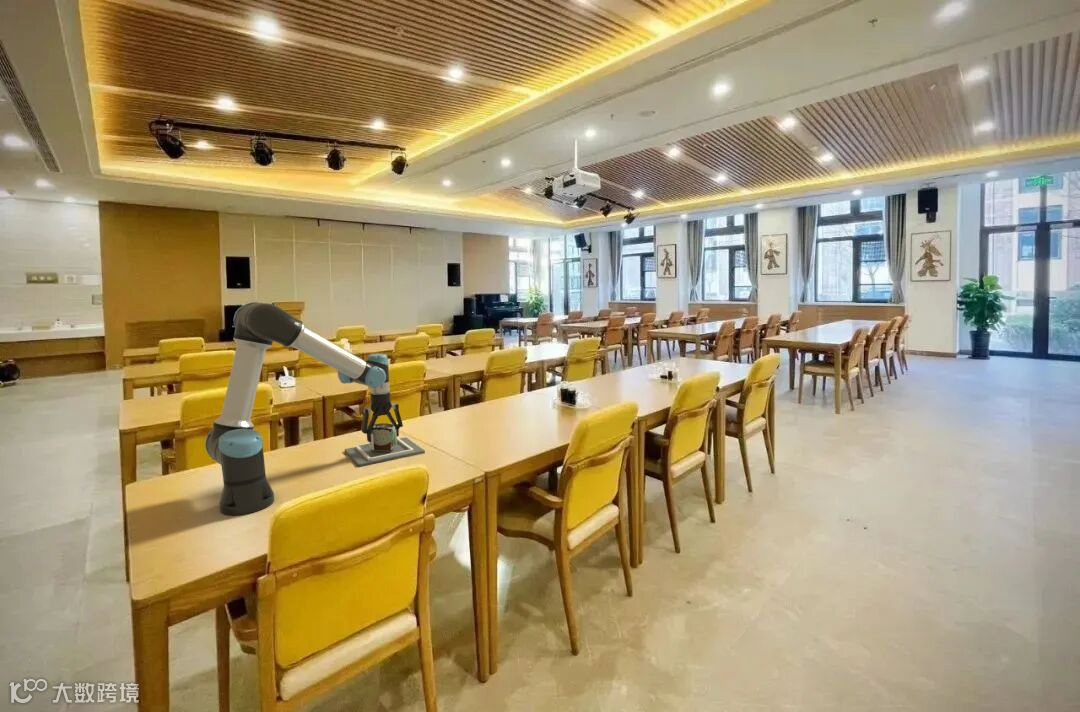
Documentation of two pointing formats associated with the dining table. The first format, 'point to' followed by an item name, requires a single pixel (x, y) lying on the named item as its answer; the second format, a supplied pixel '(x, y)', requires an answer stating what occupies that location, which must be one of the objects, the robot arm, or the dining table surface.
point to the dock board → (383, 452)
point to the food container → (383, 436)
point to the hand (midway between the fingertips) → (383, 446)
